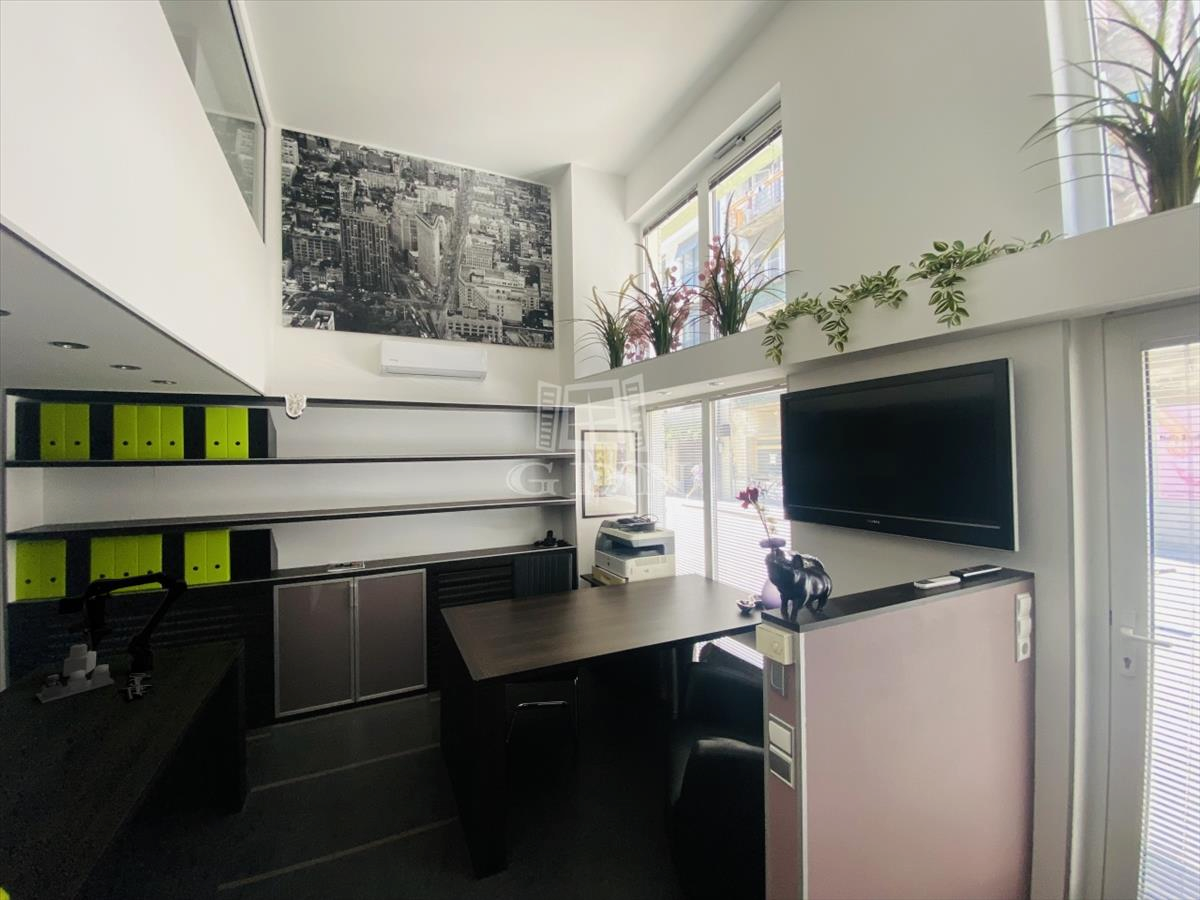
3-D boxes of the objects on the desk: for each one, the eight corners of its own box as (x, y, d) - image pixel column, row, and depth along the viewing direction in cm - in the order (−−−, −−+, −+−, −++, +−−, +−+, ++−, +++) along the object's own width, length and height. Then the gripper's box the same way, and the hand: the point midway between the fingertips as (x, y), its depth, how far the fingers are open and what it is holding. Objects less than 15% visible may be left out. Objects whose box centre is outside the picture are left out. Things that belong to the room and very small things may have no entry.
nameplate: (116, 677, 191) (150, 669, 198) (116, 680, 191) (149, 673, 198) (120, 701, 172) (157, 692, 180) (119, 706, 172) (156, 696, 180)
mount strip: (107, 677, 193) (108, 666, 193) (114, 683, 188) (115, 672, 188) (36, 696, 176) (37, 685, 177) (42, 703, 172) (42, 691, 172)
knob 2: (105, 677, 191) (106, 663, 191) (109, 680, 189) (109, 666, 189) (91, 681, 187) (92, 667, 187) (94, 683, 185) (95, 669, 185)
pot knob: (57, 683, 179) (58, 673, 179) (59, 685, 177) (60, 675, 177) (44, 686, 176) (45, 676, 176) (46, 689, 175) (47, 678, 175)
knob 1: (82, 683, 185) (83, 669, 185) (85, 686, 183) (86, 671, 183) (67, 687, 182) (68, 673, 182) (70, 690, 180) (71, 675, 180)
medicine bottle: (72, 670, 198) (74, 641, 198) (95, 667, 201) (97, 639, 201) (62, 677, 191) (64, 648, 192) (86, 674, 194) (87, 645, 195)
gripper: (61, 611, 189) (58, 650, 188) (73, 620, 179) (70, 661, 179) (100, 604, 199) (97, 641, 198) (114, 613, 189) (111, 651, 189)
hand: (93, 648), depth 191 cm, fingers closed
